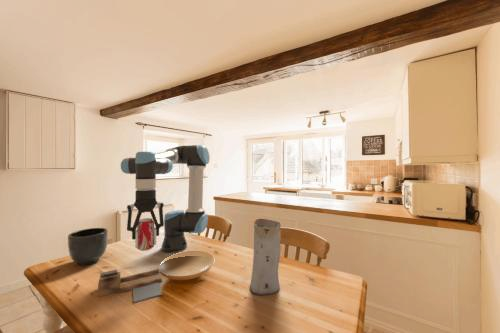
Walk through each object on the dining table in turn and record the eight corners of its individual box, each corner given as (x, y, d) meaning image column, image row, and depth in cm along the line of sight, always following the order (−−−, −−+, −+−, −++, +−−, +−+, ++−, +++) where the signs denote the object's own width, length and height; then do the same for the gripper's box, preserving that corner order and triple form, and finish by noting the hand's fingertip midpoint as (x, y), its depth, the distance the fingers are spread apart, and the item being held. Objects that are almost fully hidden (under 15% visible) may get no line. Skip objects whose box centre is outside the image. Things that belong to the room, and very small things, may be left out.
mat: (158, 283, 96) (158, 282, 96) (161, 294, 87) (161, 293, 87) (132, 289, 91) (132, 288, 91) (133, 303, 82) (133, 301, 82)
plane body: (158, 272, 106) (158, 262, 106) (161, 281, 97) (161, 270, 97) (100, 286, 94) (100, 274, 94) (97, 298, 85) (97, 285, 85)
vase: (259, 301, 83) (260, 229, 83) (243, 283, 96) (244, 220, 95) (286, 292, 89) (288, 225, 89) (268, 276, 102) (270, 217, 101)
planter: (114, 258, 122) (114, 229, 122) (80, 272, 106) (79, 239, 106) (96, 253, 129) (95, 226, 129) (61, 265, 114) (60, 234, 113)
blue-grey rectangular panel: (118, 271, 94) (118, 269, 88) (118, 274, 93) (118, 271, 87) (100, 276, 90) (98, 273, 84) (100, 278, 90) (98, 276, 84)
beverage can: (147, 252, 85) (147, 221, 85) (133, 251, 87) (133, 221, 87) (157, 246, 92) (157, 218, 92) (144, 245, 93) (144, 217, 93)
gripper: (168, 187, 97) (168, 238, 97) (118, 189, 88) (118, 246, 88) (171, 188, 91) (171, 244, 91) (118, 191, 81) (118, 253, 81)
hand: (145, 245), depth 89 cm, fingers closed on beverage can, 6 cm apart
